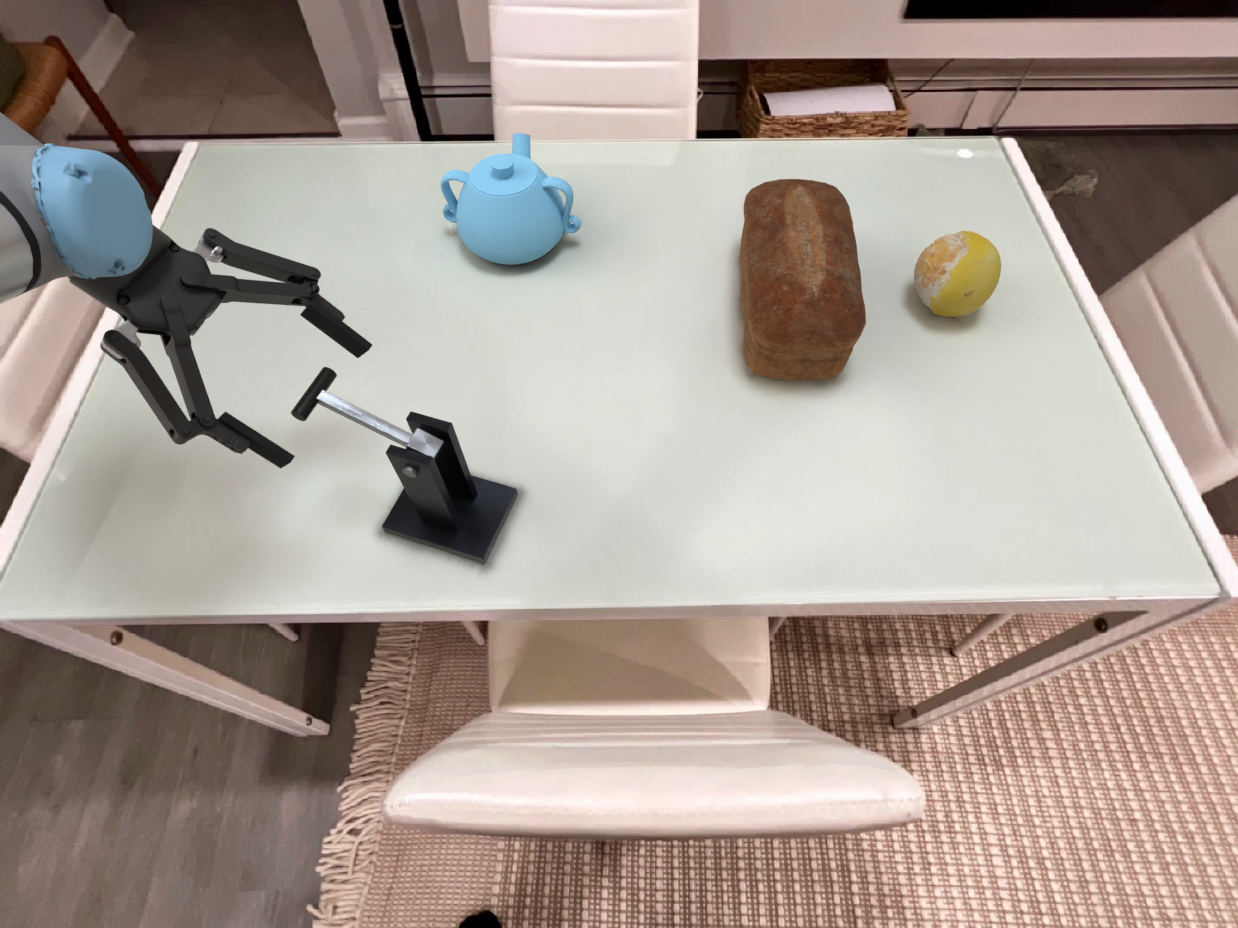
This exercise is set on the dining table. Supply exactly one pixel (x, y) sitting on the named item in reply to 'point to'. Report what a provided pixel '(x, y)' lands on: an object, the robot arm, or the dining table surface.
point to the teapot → (509, 207)
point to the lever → (362, 416)
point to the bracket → (446, 497)
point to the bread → (799, 281)
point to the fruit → (957, 273)
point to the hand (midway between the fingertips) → (329, 404)
